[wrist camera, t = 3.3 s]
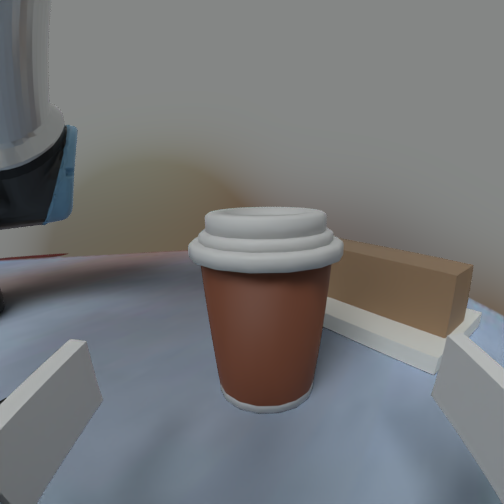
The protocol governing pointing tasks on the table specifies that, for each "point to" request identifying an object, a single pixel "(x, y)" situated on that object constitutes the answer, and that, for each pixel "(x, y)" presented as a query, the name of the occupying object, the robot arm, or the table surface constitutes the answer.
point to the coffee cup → (266, 300)
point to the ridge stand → (399, 302)
